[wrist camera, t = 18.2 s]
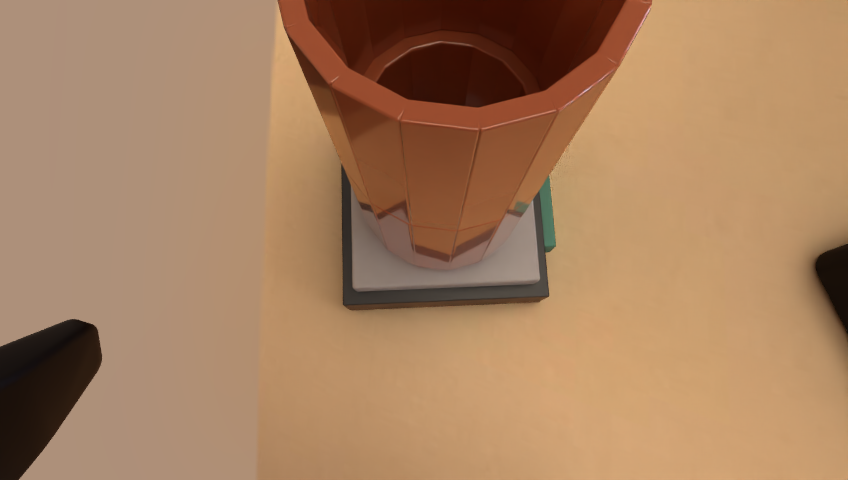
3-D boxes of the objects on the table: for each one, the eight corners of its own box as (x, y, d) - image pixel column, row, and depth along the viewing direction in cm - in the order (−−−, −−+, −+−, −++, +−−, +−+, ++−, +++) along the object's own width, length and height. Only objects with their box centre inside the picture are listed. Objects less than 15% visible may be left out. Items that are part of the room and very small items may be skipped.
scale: (349, 310, 24) (338, 302, 21) (347, 133, 25) (336, 102, 22) (551, 301, 24) (569, 292, 21) (534, 125, 25) (549, 93, 22)
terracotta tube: (472, 301, 21) (545, 201, 8) (334, 223, 21) (196, 14, 9) (546, 167, 22) (716, -110, 9) (413, 96, 22) (395, -254, 10)
